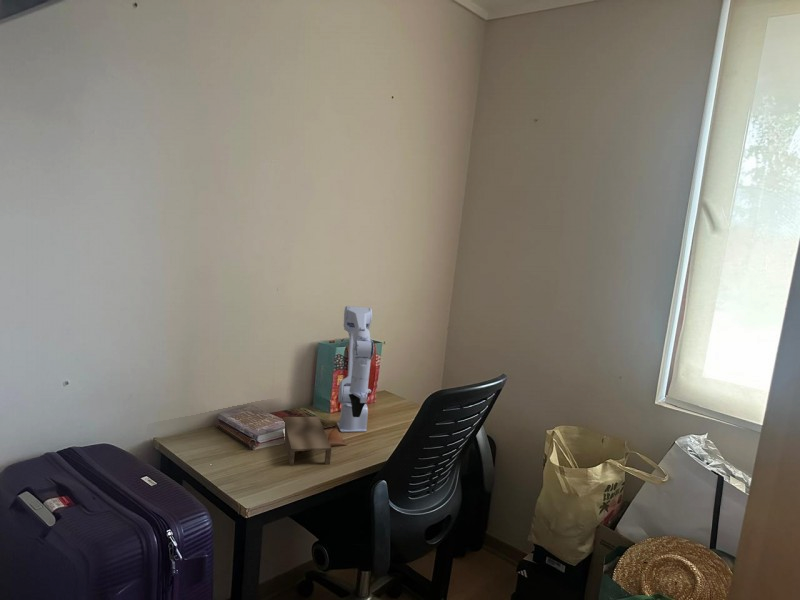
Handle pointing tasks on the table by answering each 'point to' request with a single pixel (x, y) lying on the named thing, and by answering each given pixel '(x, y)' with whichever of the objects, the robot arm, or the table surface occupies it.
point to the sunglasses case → (332, 439)
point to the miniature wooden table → (305, 436)
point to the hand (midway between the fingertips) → (356, 416)
